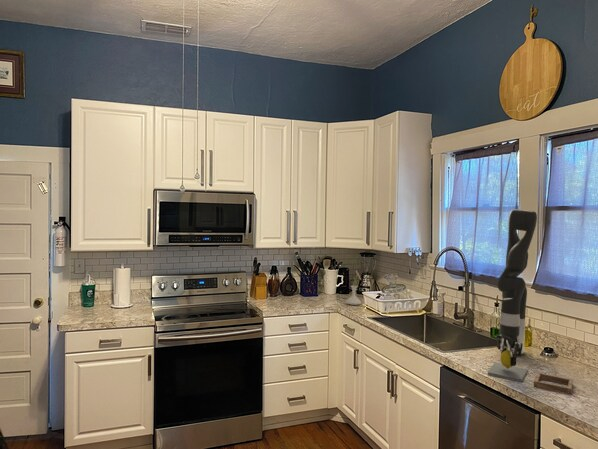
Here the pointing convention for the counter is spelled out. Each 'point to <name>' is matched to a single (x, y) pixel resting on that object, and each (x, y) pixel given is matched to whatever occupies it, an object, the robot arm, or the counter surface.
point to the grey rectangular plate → (508, 372)
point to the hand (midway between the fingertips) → (508, 363)
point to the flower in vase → (353, 299)
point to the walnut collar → (552, 386)
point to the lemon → (506, 358)
